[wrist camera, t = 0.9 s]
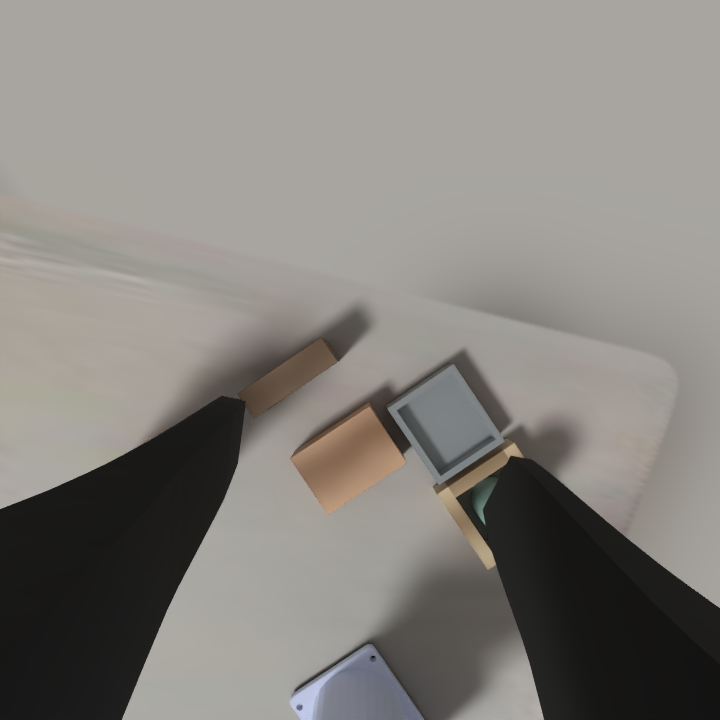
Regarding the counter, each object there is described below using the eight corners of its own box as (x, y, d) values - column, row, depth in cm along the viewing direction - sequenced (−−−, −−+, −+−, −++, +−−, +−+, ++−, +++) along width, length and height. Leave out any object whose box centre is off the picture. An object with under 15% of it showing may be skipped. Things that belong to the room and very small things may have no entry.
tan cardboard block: (402, 453, 29) (406, 462, 27) (330, 500, 29) (327, 514, 27) (368, 401, 29) (369, 406, 27) (295, 449, 29) (289, 458, 27)
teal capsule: (524, 504, 29) (568, 544, 23) (487, 529, 29) (520, 576, 23) (500, 467, 29) (537, 498, 23) (462, 492, 29) (489, 529, 23)
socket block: (554, 510, 29) (565, 519, 27) (481, 558, 29) (488, 569, 27) (506, 438, 29) (514, 443, 27) (433, 487, 29) (437, 494, 27)
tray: (497, 436, 29) (505, 441, 27) (434, 478, 29) (438, 485, 27) (448, 363, 29) (453, 364, 27) (385, 405, 29) (387, 408, 27)
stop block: (339, 360, 29) (337, 361, 25) (266, 409, 29) (253, 417, 25) (325, 339, 28) (321, 337, 25) (252, 388, 29) (237, 394, 25)
